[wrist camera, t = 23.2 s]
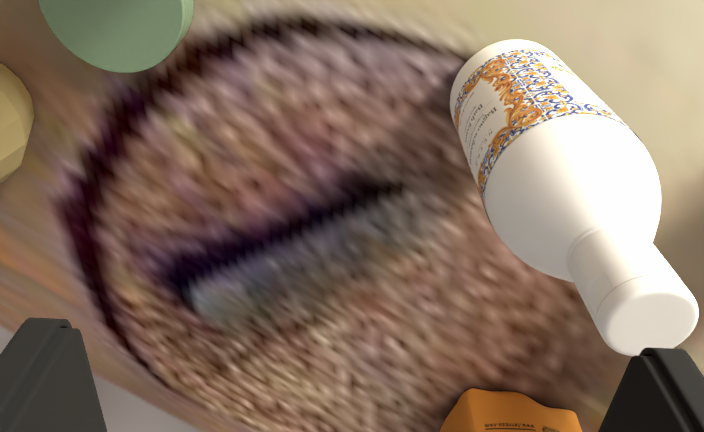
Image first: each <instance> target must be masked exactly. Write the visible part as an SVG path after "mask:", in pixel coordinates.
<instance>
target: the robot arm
mask: <svg viewBox="0 0 704 432" xmlns="http://www.w3.org/2000/svg"><path fill="white" fill-rule="evenodd" d="M0 432H107V429H106V425H105V422H104V418H103V414H102V410H101V406H100V403H99V399H98V395H97V391H96V387H95V384H94V380H93V376H92V372H91V369H90V365H89V361H88V357H87V353H86V350H85V346H84V342H83V338H82V335H81V332H80V330H79V329H73V328H72V326H71V324H70V322H69V321H68V320H66V319H49V318H29V319H27V320H26V321H25V322H24V323H23V324H22V325H21V326H20V328H19V329H18V331H17V332H16V333H15V335H14V336H13V338H12V339H11V340H10V342H9V343H8V345H7V346H6V348H5V349H4V350H3V352H2V353H1V354H0ZM598 432H704V377H703V375H702V374H701V372H700V371H699V369H698V368H697V366H696V365H695V363H694V362H693V360H692V359H691V357H690V356H689V355H688V353H687V352H686V351H684V350H682V349H672V348H651V347H646V348H644V349H643V350H642V351H641V353H640V354H639V356H638V355H635V356H633V357H632V358H631V360H630V362H629V364H628V366H627V368H626V371H625V373H624V375H623V377H622V380H621V382H620V384H619V386H618V389H617V391H616V393H615V395H614V398H613V400H612V402H611V404H610V407H609V409H608V411H607V413H606V415H605V418H604V420H603V422H602V424H601V427H600V429H599V431H598Z"/></svg>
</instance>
